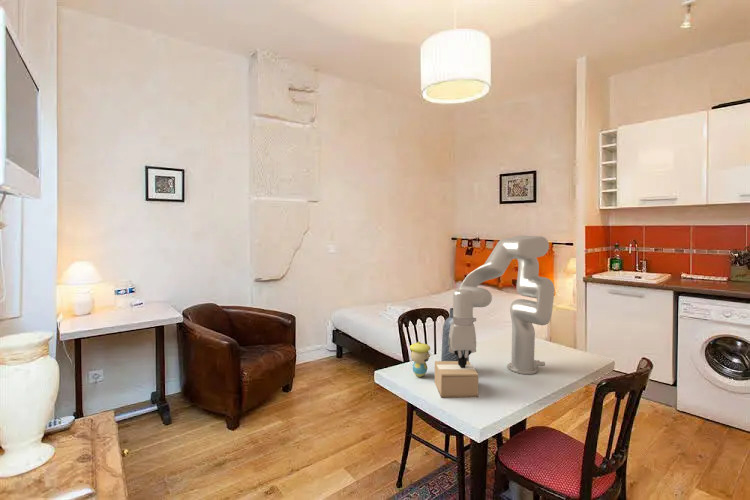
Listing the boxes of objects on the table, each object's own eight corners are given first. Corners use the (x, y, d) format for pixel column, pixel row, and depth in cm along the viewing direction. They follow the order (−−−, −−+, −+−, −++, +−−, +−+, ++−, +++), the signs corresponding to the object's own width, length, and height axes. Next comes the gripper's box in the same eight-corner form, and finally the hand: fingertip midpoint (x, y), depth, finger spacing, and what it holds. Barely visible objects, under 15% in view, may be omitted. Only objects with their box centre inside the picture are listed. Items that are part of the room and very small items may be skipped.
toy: (425, 381, 163) (426, 346, 162) (406, 377, 168) (406, 342, 166) (433, 375, 169) (433, 341, 168) (414, 371, 174) (414, 338, 173)
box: (468, 382, 162) (468, 363, 161) (478, 397, 148) (478, 376, 147) (434, 382, 162) (434, 363, 161) (441, 397, 148) (441, 377, 147)
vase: (474, 371, 173) (475, 308, 171) (459, 379, 164) (460, 313, 162) (450, 364, 181) (451, 304, 179) (435, 372, 173) (435, 309, 171)
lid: (468, 363, 161) (468, 360, 161) (478, 376, 147) (478, 373, 147) (434, 362, 161) (434, 360, 161) (441, 376, 147) (441, 373, 147)
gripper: (478, 318, 157) (478, 363, 158) (441, 318, 156) (441, 363, 158) (484, 323, 149) (483, 370, 151) (445, 323, 149) (445, 370, 150)
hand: (462, 366), depth 154 cm, fingers closed
